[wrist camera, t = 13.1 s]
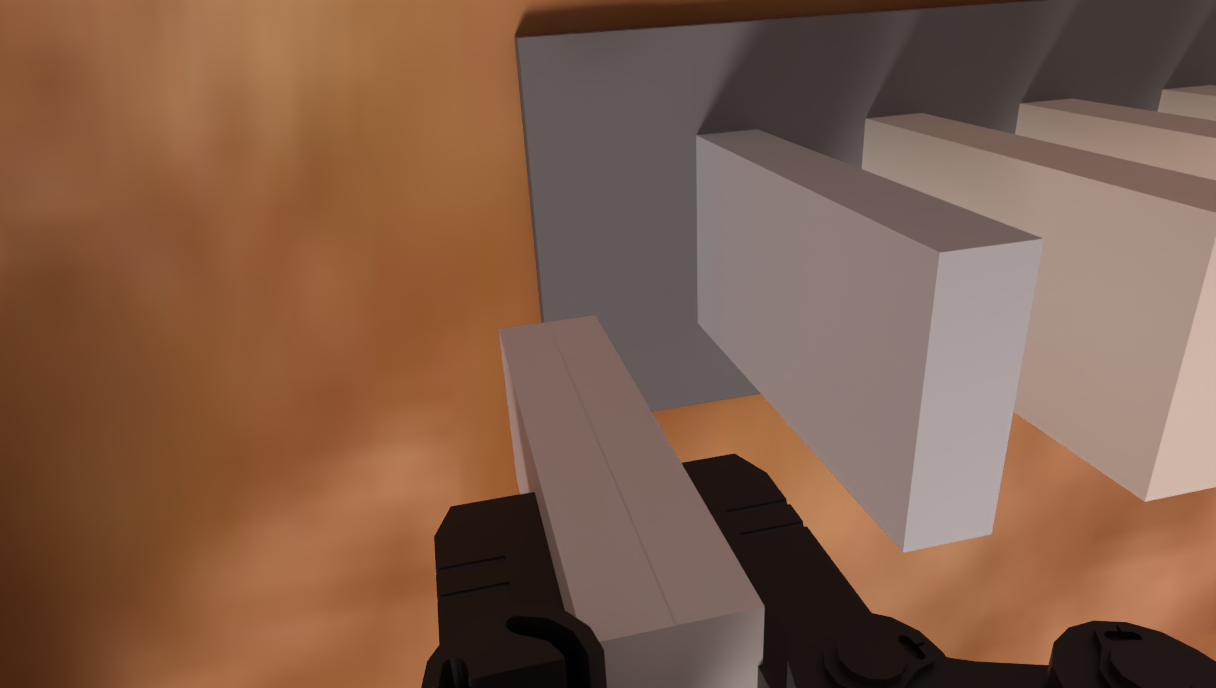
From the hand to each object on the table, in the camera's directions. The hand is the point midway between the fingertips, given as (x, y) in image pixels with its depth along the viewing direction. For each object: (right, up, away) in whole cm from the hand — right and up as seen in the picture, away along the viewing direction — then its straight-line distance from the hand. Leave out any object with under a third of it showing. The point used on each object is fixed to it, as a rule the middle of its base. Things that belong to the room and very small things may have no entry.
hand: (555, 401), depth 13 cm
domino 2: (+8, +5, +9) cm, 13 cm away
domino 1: (+4, +4, +8) cm, 10 cm away
